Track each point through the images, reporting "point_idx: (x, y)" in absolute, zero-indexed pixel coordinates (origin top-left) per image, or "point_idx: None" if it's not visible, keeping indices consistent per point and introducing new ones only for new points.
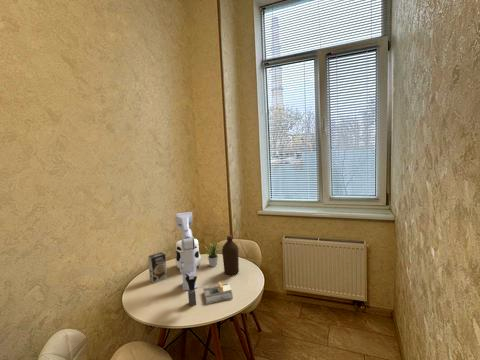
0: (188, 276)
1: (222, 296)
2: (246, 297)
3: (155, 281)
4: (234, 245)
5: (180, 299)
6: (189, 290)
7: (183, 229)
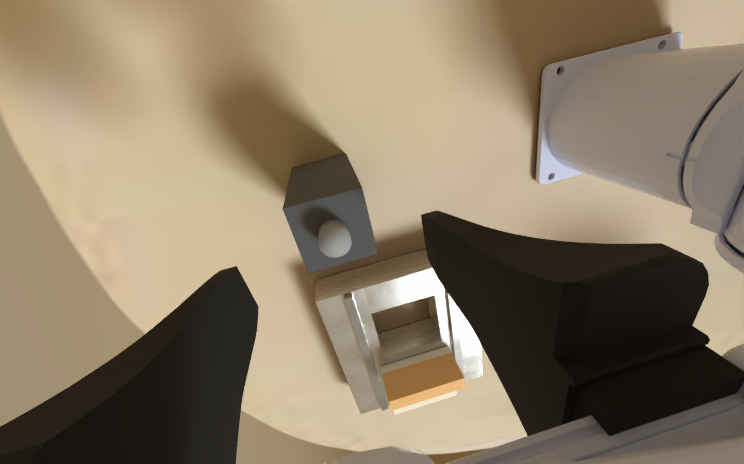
0: (476, 276)
1: (345, 373)
2: (357, 430)
3: None
4: None
5: (406, 64)
6: (346, 208)
7: None
